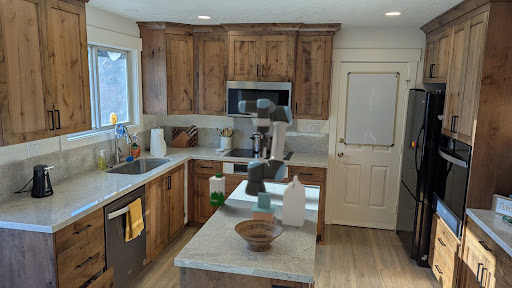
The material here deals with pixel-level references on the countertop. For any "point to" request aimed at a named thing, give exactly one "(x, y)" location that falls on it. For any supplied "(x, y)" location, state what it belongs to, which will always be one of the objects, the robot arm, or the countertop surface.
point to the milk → (294, 204)
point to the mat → (239, 212)
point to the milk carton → (217, 190)
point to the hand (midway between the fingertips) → (262, 160)
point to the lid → (264, 204)
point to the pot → (263, 216)
